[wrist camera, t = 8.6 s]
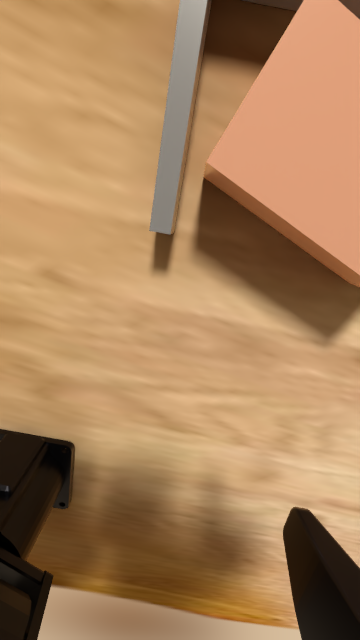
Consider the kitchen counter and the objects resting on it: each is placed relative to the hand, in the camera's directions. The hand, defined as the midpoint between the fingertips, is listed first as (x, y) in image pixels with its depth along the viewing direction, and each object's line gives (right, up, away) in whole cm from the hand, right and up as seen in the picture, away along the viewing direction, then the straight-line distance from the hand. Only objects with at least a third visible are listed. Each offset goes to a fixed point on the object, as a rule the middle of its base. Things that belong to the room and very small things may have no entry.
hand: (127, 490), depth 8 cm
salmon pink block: (+8, +12, +7) cm, 16 cm away
